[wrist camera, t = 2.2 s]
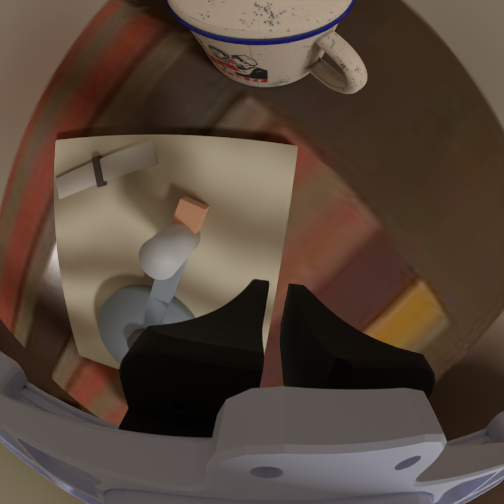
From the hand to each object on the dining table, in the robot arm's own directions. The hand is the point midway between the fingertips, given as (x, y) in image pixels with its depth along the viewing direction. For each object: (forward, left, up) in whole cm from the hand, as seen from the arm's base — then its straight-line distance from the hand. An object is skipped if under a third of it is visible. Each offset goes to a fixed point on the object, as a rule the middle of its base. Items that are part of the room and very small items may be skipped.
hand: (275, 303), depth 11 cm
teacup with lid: (+14, +1, -10) cm, 17 cm away
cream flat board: (-4, +9, -9) cm, 14 cm away
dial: (-6, +8, -8) cm, 13 cm away
